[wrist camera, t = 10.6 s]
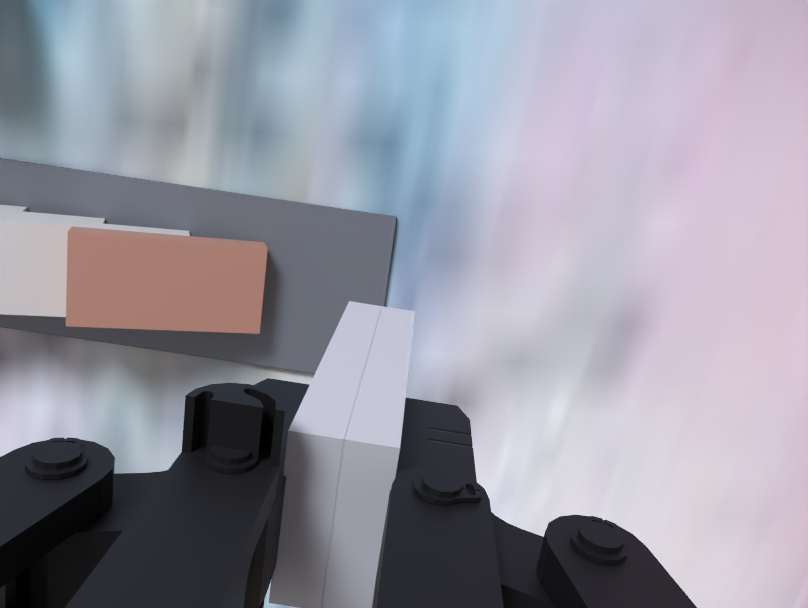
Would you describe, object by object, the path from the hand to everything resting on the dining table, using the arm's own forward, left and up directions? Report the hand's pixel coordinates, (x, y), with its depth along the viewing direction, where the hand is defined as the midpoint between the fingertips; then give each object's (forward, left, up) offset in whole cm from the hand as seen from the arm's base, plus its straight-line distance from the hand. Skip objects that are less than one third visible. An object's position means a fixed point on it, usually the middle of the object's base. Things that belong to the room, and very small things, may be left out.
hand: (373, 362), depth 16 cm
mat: (-8, -14, -24) cm, 29 cm away
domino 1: (-5, -12, -23) cm, 27 cm away
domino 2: (-2, -9, -23) cm, 25 cm away
